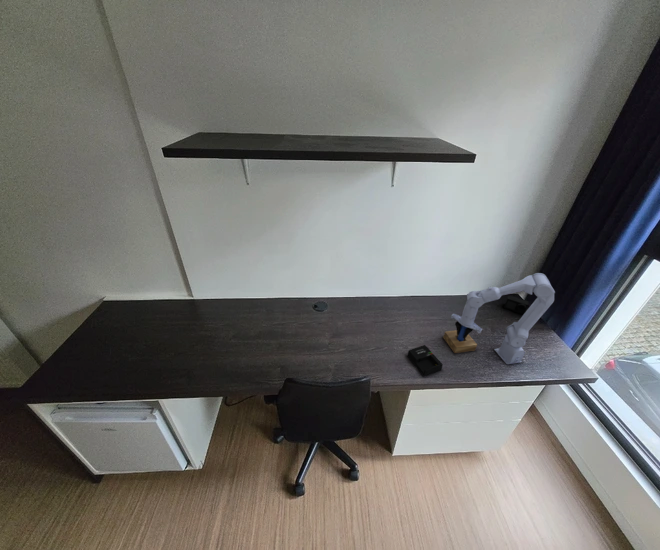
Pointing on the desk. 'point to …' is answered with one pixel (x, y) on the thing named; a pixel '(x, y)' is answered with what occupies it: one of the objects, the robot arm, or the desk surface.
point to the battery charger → (424, 360)
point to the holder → (459, 342)
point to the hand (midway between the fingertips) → (461, 335)
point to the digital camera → (516, 304)
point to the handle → (461, 333)
